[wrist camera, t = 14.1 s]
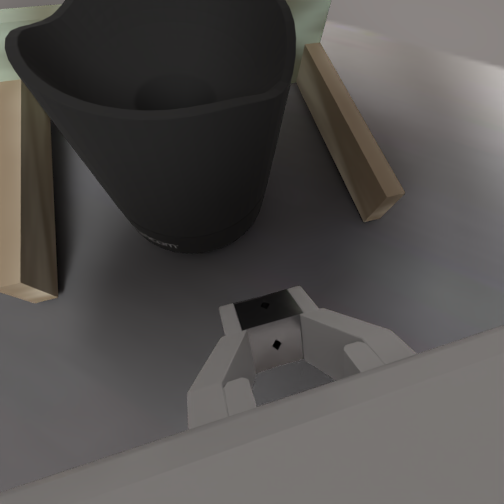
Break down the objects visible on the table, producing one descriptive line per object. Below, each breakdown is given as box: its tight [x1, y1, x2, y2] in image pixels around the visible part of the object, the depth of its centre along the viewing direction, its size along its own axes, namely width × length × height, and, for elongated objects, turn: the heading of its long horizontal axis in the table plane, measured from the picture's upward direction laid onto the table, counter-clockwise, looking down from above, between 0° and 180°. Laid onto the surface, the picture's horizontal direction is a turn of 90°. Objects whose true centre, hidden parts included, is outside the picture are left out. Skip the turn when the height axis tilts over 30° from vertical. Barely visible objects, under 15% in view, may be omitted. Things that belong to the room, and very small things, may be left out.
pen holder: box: [5, 0, 296, 253], centre depth 14 cm, size 9×9×10 cm
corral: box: [0, 0, 405, 303], centre depth 17 cm, size 21×15×6 cm
